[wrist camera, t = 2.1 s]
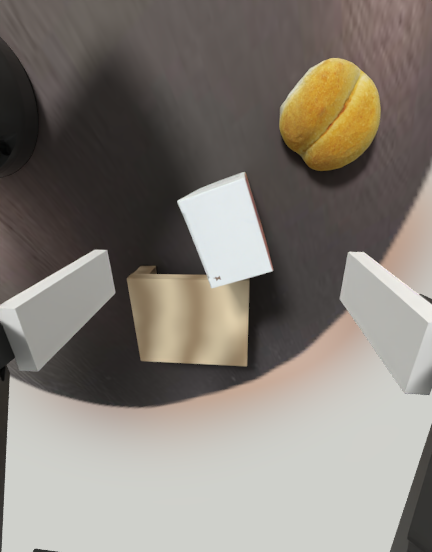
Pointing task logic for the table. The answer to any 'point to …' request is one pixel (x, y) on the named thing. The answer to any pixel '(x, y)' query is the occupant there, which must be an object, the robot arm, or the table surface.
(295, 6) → the table surface
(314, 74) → the bread roll
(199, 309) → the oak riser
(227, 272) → the small box
